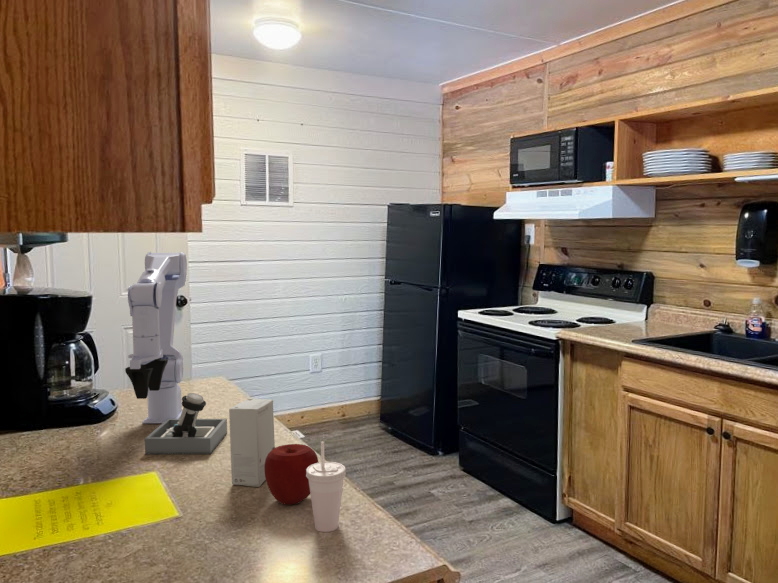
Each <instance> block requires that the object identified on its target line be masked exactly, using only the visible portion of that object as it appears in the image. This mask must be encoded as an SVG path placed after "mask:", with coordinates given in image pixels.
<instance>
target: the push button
mask: <svg viewBox="0 0 778 583" xmlns="http://www.w3.org/2000/svg"><path fill="white" fill-rule="evenodd" d="M181 399H182V413H181V416H180V418H179V422H177V424H175V425H174V427H173V429H166V430H167V431H172V433H165V434H166V435H172V436H173V437H195V434H196V431H197V430H196V429H195V427H194V426H195V422H196V419H198V416H199V413H200V412H201V411H203V410H204V407H205V406H206V404H207V402H206V401H205V400H204V397H203V395H200V394H199V393H192V392H189V393H187V395H184V396H181Z"/></svg>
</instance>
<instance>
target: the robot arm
mask: <svg viewBox="0 0 778 583" xmlns="http://www.w3.org/2000/svg"><path fill="white" fill-rule="evenodd" d="M187 260H188V259H187V255H186V254H185V252H184V251H181V252H151V251H150V252H147V253H146V254H145V256H144V269H145V270H144V271H143V272H142V274H141V275H140V277H139V279H138V280H137V282H135V283H133V284H132V285H129V286H128V290H127V302H128V307H129V314H130V317H131V322H132V346H133V347H132V350H133V353H131V354H130V353H129V355H128V356H127V357H128V359H130V360H129V366H128V367H125V370H124V371H125V372H124V373H125V374H126V375H127V377H128V378H129V380H130V382H131V384H132V387H133V391H134V394H135V397H136V399H137V400H138V399H142V400H143V399H146V400H147V417H146V418H145V419H144V420H142V424H162V423H163V422H165V421H166V420H167V419H180V416H181V413H182V410H183V406H182V388H181V386H180V383H181V382H182V381H183V378H184V358H183V355H182V353H181V351H179V350H178V349H177V348H176V347H174V336H175V335H174V334H175V333H174V332H175V321H176V308H177V298H178V293H179V290H180V289H182V288H183V287H184V286H186V281H187V271H188V267H187V266H188V261H187Z"/></svg>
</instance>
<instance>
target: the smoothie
mask: <svg viewBox="0 0 778 583" xmlns="http://www.w3.org/2000/svg"><path fill="white" fill-rule="evenodd" d="M318 462H319V463H315V464H312V465H310V466H309V467H308V468H307V469H306V477H307V478H308V480H309V488H310V500H311V507H312V515H313V521H314V528H315V530H316V531H318V532H321V533H329V532H333V531H335V530H337V529H338V527H339V520H340V512H341V504H342V503H341V502H342V495H343V486H344V478H345V477H346V475H347V472H346V466H345V465H343V464H342V463H340V462H335V461H325V441H320V461H318Z"/></svg>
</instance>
